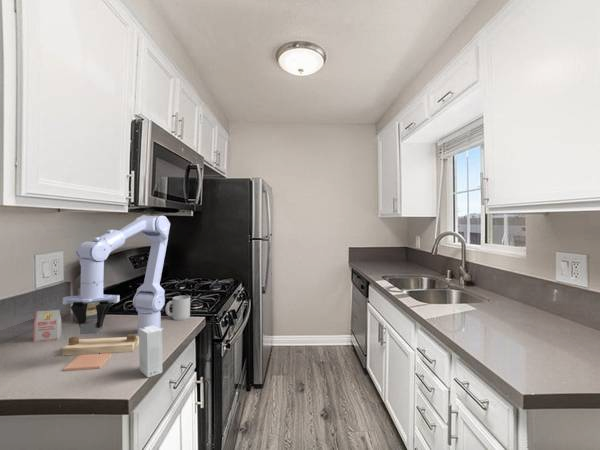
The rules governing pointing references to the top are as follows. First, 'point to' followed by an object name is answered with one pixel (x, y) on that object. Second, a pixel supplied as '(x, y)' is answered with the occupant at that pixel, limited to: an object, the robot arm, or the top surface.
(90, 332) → the gray rectangular block
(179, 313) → the cup
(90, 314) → the liquor
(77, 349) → the hand plane
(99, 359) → the terracotta tile
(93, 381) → the top surface
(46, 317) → the white red printed carton
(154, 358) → the skincare box
